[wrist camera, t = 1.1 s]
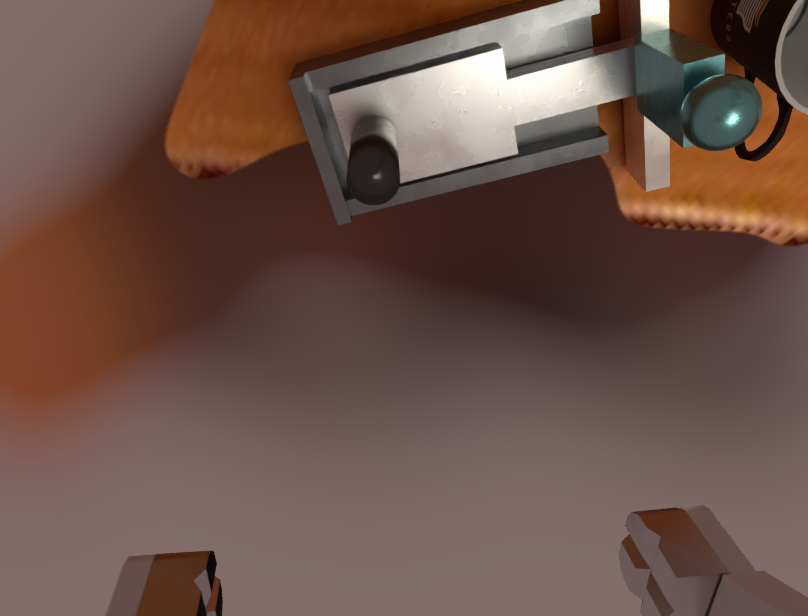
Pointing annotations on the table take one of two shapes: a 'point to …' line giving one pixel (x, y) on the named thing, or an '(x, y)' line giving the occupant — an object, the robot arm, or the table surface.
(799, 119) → the table surface
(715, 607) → the robot arm
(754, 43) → the coffee mug
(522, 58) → the rail
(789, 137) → the table surface
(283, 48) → the table surface
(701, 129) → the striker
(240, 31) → the table surface
